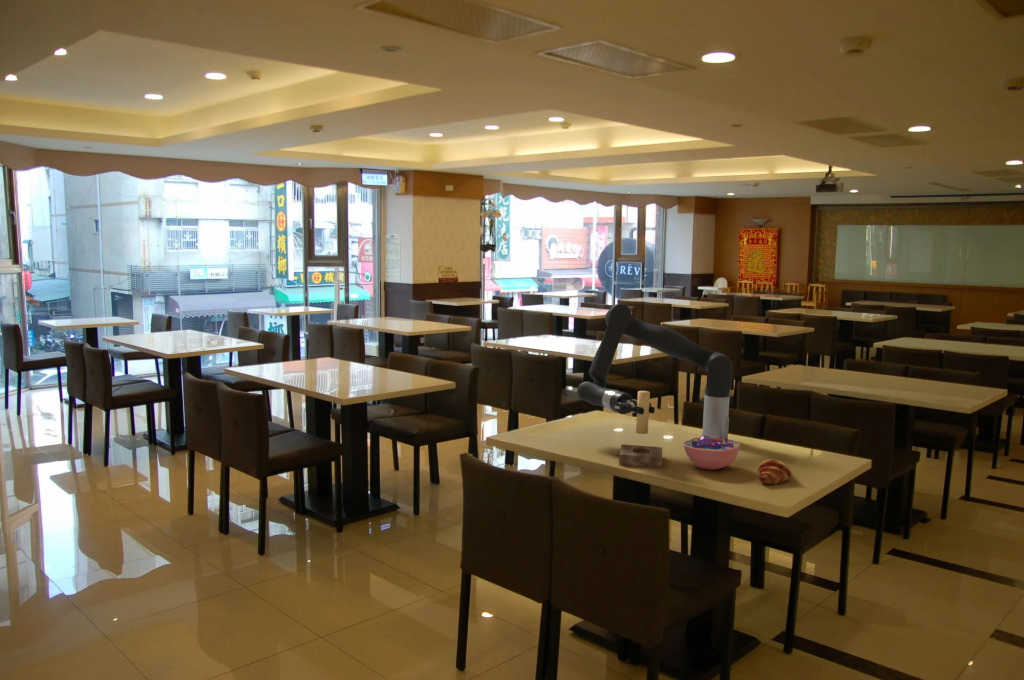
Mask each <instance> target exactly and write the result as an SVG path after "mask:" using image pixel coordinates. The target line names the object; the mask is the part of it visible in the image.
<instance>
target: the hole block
mask: <svg viewBox="0 0 1024 680" xmlns="http://www.w3.org/2000/svg"><path fill="white" fill-rule="evenodd" d="M619 451H620V452H619V457H618V465H619V466H630V467H631V466H634V467H642V466H643V468H656V469H659V468H660V469H662V468H663V447H662V446H648V445H647V446H646V445H636V444H635V445H634V444H621V446H620V450H619Z"/></svg>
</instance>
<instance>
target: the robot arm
mask: <svg viewBox="0 0 1024 680" xmlns="http://www.w3.org/2000/svg"><path fill="white" fill-rule="evenodd" d="M604 322H605V324H606V329H605V331H604V332H605V333H604V335H603V337H602V340H601V342H600V344H599V346H598V348H597V350H596V352H595V355H594V357H593V359H592V361H591V365H590V367H589V371H588V375H589V377H590V378H591V379H592V380H593V382H591V381H583V382H581V383H580V384H579V385H577V388H576V394H577V396H578V398H579V399H581V400H582V401H584V402H586V403H589V404H590V405H592V406H594V407H595V406H599V407H601V408H605V409H607V410H609V411H611V412H615V413H617V414H620V415H626V414H631V413H632V414H637V413H638V414H641V415H642V414H644V408H642V407H638V406H637V400H638V399H634V398H633V396H632V395H631V394H629V393H627V392H624V391H620V390H618V389H610V388H607V381H608V380H607V379H608V378H607V377H608V374H609V372H610V369H611V367H612V363H613V360H614V357H615V354H616V352H617V348H618V345H619V343H620V341H621V339H622V336H623V335H625V336H628V337H630V338H634V339H635V340H638V341H639V342H641V343H644V345H647V346H649V347H651V348H653V349H655V350H657V351H659V352H661V353H662V354H664V355H667V356H670V357H672V358H676V359H678V360H682V361H685V362H689V363H691V364H693V365H695V366H697V367H699V368H700V369H702V370H703V371H705V372H706V373H707V374H706V385H705V388H704V398H703V399H704V400H703V402H704V403H703V415H702V416H703V417H702V436H704V435H706V436H709V437H710V438H715V439H725V438H727V439H728V440H729V427H730V426H729V424H730V423H729V422H730V417H729V414H730V413H729V411H730V396H731V395H730V394H731V389H732V382H733V371H734V370H733V362H732V361H731V359H730V358H729V357H728V356H727V355H725V354H724V353H721V352H719V351H715V350H712V349H709V348H706V347H703V346H701V345H699V344H698V343H696V342H694V341H692V340H691V339H690V338H688V337H686V336H684V335H682V334H681V333H678V332H677V331H675V330H673V329H670V328H668V327H665V326H663V325H658V324H654V323H648V322H645V321H643V320H640V319H638V318H636V317H634V316H633V313H632V310H631V308H630V306H628V305H627V304H624V303H616V304H614V305H612V306H611V307H610V308H609V309H608V311H607V312H606V314H605V316H604ZM649 414H655V406H652V403H651V402H649Z"/></svg>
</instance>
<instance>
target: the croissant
mask: <svg viewBox="0 0 1024 680" xmlns="http://www.w3.org/2000/svg"><path fill="white" fill-rule="evenodd" d="M792 472H793V471H792V470H791V469H790V467H789V466H788V465H787V464H786V463H784V462H782V461H781V460H779V459H766V460H763V461H762V462H760V464H759V465H758V468H757V473H758V480H759V481H760V482H761V483H762V484H768V485H777V484H782V483H784V482H786V481H788V480H789V479H790V478H791V477H792V474H793V473H792Z"/></svg>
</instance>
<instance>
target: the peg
mask: <svg viewBox="0 0 1024 680" xmlns="http://www.w3.org/2000/svg"><path fill="white" fill-rule="evenodd" d="M636 400H637V406H638V407H642V408H644V414H642V415H641V414H638V413H636V421H635V422H636V424H635V425H636V426H635V433H636V434H641V435H647V434H649V422H650V421H649V418H650V413H649V403H650V400H651V392H650V391H647V390H638V391H637V399H636Z"/></svg>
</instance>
